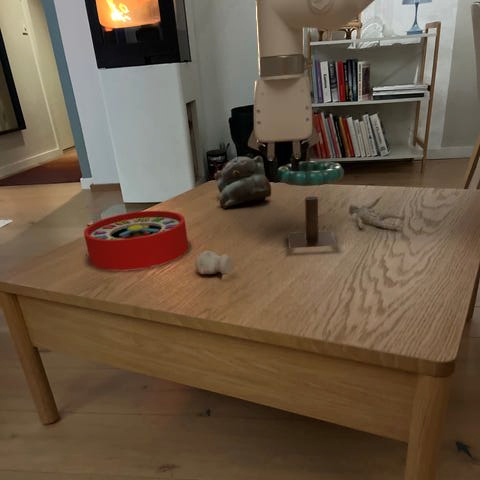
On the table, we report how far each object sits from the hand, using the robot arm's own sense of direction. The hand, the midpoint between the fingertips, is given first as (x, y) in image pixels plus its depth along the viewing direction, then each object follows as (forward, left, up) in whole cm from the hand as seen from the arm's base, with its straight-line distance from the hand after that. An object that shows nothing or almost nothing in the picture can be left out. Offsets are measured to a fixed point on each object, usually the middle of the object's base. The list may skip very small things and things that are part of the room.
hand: (284, 180), depth 88 cm
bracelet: (-5, 0, +1) cm, 5 cm away
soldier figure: (-19, -10, -13) cm, 25 cm away
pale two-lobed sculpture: (+13, +13, -13) cm, 23 cm away
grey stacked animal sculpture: (+11, -36, -13) cm, 40 cm away
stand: (-5, 0, -13) cm, 14 cm away
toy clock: (+30, -1, -13) cm, 33 cm away
